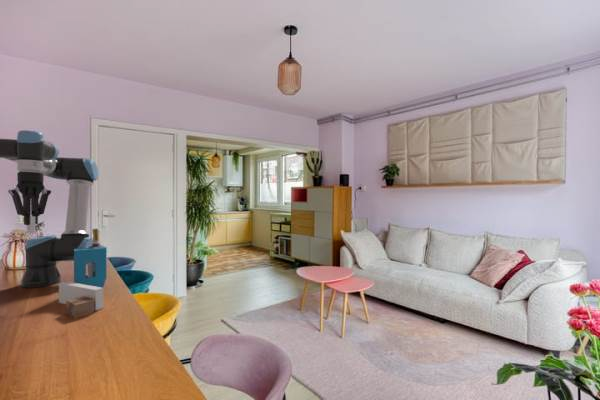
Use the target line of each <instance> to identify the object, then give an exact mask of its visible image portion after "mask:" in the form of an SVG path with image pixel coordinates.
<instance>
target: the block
mask: <svg viewBox="0 0 600 400" xmlns="http://www.w3.org/2000/svg"><path fill="white" fill-rule="evenodd" d="M107 256H108V255H107V246H104V247H94V248H82V249H74V261H73V283H79V284H85V285H90V286H96V287H101V288H103V289H104V287H105V284H106V280H107V268H108V267H107V265H108V264H107V263H108V262H107ZM90 261H92V262H93V263H95V274H94V275H93V277H88V274H87V266H88V263H89V262H90Z"/></svg>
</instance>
